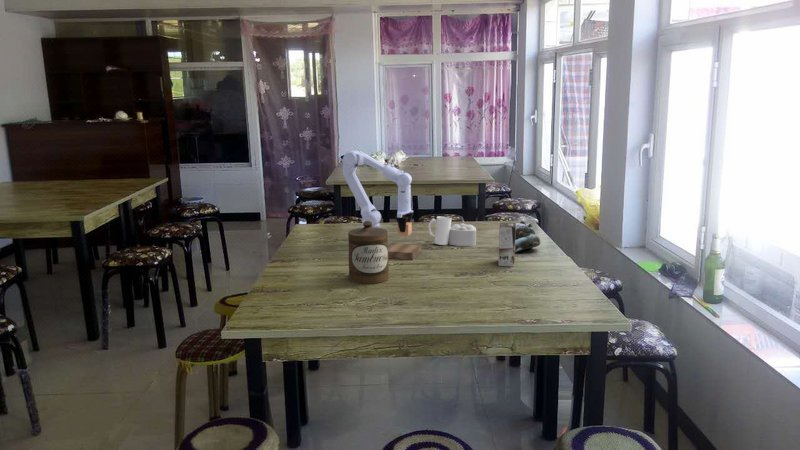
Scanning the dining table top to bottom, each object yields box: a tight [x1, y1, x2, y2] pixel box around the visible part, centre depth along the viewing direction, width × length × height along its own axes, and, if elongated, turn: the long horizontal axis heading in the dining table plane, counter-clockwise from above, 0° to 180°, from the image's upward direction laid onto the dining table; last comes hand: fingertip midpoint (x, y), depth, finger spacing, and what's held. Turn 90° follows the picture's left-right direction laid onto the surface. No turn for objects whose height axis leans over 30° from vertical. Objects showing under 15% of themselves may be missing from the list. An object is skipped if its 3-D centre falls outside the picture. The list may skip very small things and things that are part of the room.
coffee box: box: [498, 222, 517, 267], centre depth 259 cm, size 9×6×16 cm
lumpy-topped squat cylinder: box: [448, 222, 477, 247], centre depth 293 cm, size 10×13×9 cm
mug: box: [428, 215, 453, 246], centre depth 292 cm, size 10×7×12 cm, turn 78°
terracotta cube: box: [397, 221, 413, 237], centre depth 286 cm, size 5×5×5 cm
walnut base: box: [388, 242, 423, 261], centre depth 275 cm, size 14×14×3 cm
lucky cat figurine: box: [515, 220, 541, 254], centre depth 281 cm, size 15×12×14 cm
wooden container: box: [347, 221, 390, 285], centre depth 239 cm, size 15×15×22 cm
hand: (404, 230), depth 286 cm, fingers closed on terracotta cube, 5 cm apart
